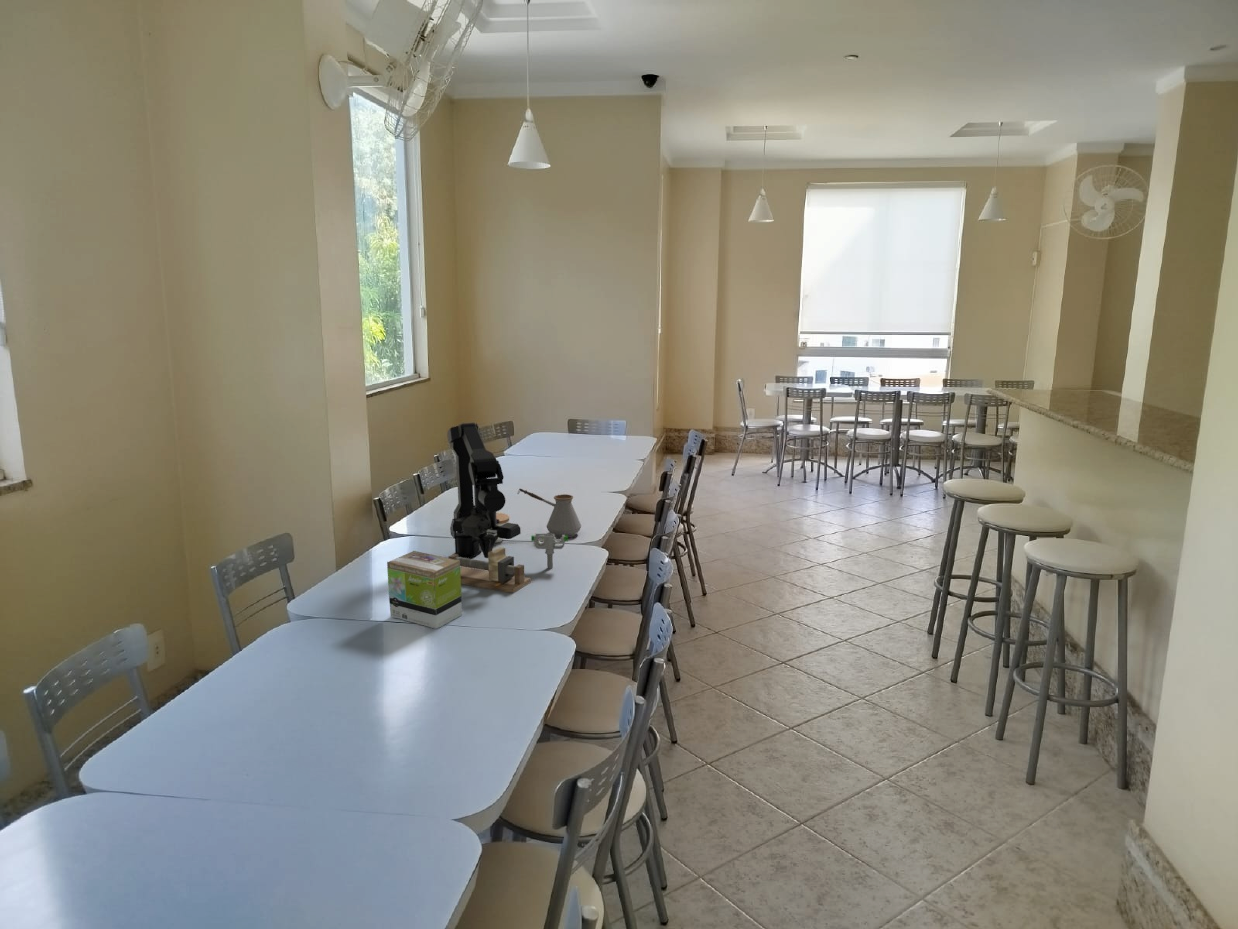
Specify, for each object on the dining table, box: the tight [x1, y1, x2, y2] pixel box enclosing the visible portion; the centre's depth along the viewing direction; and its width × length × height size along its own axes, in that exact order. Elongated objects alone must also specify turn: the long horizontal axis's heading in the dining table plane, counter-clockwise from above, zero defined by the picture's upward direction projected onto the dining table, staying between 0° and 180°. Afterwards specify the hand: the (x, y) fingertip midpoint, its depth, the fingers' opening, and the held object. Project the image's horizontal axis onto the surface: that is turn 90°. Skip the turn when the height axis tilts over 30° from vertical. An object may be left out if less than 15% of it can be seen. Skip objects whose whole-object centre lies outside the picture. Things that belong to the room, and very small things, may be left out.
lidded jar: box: [495, 512, 510, 544], centre depth 255 cm, size 11×11×9 cm
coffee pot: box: [517, 488, 582, 539], centre depth 262 cm, size 21×12×15 cm, turn 80°
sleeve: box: [487, 546, 509, 581], centre depth 216 cm, size 3×5×8 cm, turn 155°
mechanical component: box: [531, 533, 568, 570], centre depth 229 cm, size 3×10×10 cm, turn 89°
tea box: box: [386, 550, 463, 630], centre depth 193 cm, size 15×10×15 cm, turn 62°
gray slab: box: [498, 555, 515, 583], centre depth 216 cm, size 2×6×6 cm, turn 156°
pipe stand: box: [448, 553, 532, 594], centre depth 218 cm, size 23×9×6 cm, turn 66°
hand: (487, 557), depth 218 cm, fingers closed
